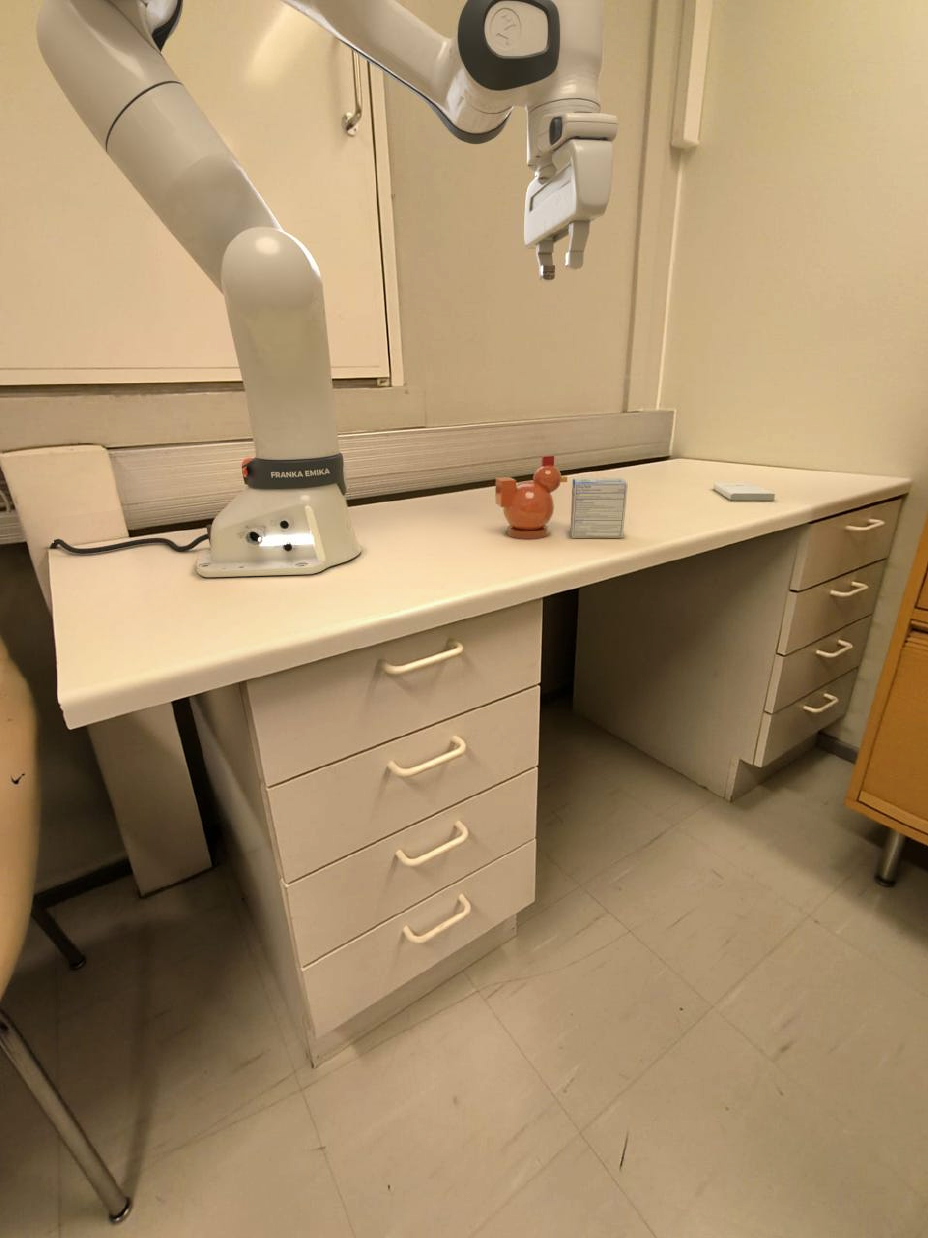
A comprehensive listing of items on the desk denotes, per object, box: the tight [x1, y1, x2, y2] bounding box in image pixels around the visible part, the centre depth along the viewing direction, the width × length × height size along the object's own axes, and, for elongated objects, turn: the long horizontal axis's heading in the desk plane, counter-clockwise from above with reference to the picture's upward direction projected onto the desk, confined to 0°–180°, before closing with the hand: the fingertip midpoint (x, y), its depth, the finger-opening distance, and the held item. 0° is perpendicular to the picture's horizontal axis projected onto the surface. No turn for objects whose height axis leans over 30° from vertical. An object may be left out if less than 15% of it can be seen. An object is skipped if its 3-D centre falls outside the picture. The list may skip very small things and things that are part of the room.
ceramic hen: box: [494, 454, 568, 540], centre depth 89 cm, size 11×8×12 cm
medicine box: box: [569, 477, 629, 539], centre depth 88 cm, size 8×4×9 cm, turn 84°
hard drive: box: [712, 482, 776, 502], centre depth 116 cm, size 2×8×12 cm
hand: (559, 275), depth 75 cm, fingers open, 8 cm apart
